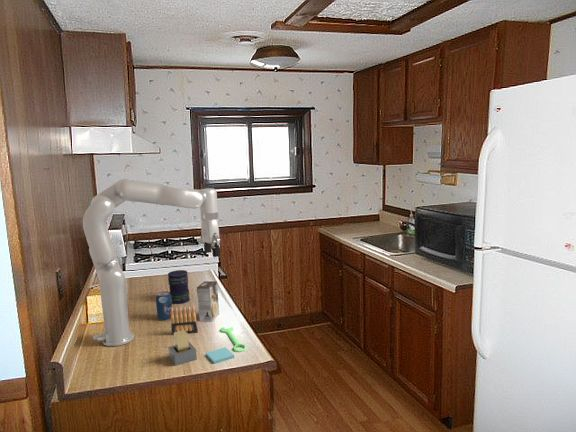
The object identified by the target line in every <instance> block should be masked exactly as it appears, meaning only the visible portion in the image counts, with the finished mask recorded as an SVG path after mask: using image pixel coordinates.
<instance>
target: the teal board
mask: <svg viewBox="0 0 576 432" xmlns="http://www.w3.org/2000/svg"><path fill="white" fill-rule="evenodd" d="M205 356H206V357H207V358H208V359H209V360H210V362H212V363H213V364H218V363H221V362H225V361H227V360H231V359H235V355H234V353H232V351H231V350H229V349H228V348H227V347H226V346H224V347H221V348H218V349H214V350H212V351H211V350H210V351H208V352H205Z"/></svg>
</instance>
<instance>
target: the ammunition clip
mask: <svg viewBox="0 0 576 432" xmlns="http://www.w3.org/2000/svg"><path fill="white" fill-rule="evenodd" d="M187 306H188V307H187V308H186V306H185V305H184V306H183V309H182V307H181V306H179V309H178V307H177V306H175V309H174V308H173V306H172V307H171V319H170V322H171V323H170V324H171V325H170V326H171V327H170V328H171V330H170V331H171V336H174V332H178V331H182V330H185V331H186V332H187V333H188V335H189V334H198V324H197V323H198V322H197V315H196V314H197V313H196V310H195V305H194V304H193V305H192V308H191V307H190V305H187Z"/></svg>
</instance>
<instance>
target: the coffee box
mask: <svg viewBox="0 0 576 432" xmlns="http://www.w3.org/2000/svg"><path fill="white" fill-rule="evenodd" d="M196 293H197V294H196V296H197V303H198V304H197V305H198V314H199V315H198V316H199V321H200V322H213V321H214V320H215V319H216V318H217V317H218V316H219V315H220V308H219V307H220V306H219V305H220V304H219V294H218V293H219V292H218V282H217V280H216V281H212V280H211V281H207V280H206V281H203V282H202V283H200V284H199V285H198V286H197V287H196Z"/></svg>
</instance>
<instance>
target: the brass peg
mask: <svg viewBox="0 0 576 432" xmlns="http://www.w3.org/2000/svg"><path fill="white" fill-rule="evenodd" d="M173 339H174V345H175V351H176V352H177V353H178V352H182V351H185V350H189V343H188V342H189V334H188V333H187V332H186V331H185V330H182V331H178V332H174V335H173Z"/></svg>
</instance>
